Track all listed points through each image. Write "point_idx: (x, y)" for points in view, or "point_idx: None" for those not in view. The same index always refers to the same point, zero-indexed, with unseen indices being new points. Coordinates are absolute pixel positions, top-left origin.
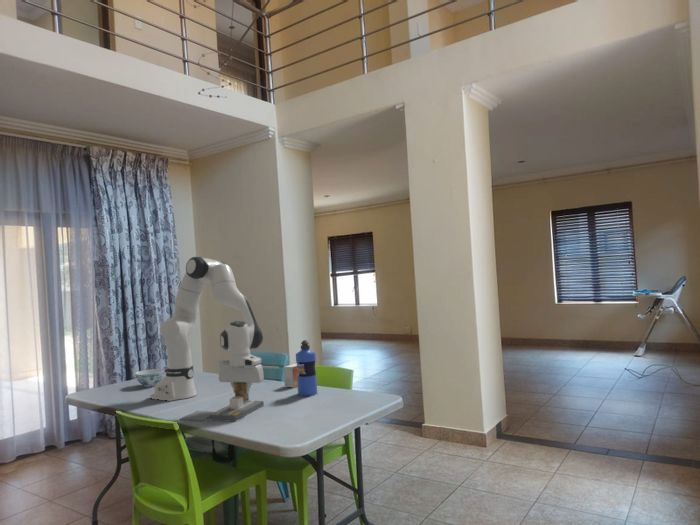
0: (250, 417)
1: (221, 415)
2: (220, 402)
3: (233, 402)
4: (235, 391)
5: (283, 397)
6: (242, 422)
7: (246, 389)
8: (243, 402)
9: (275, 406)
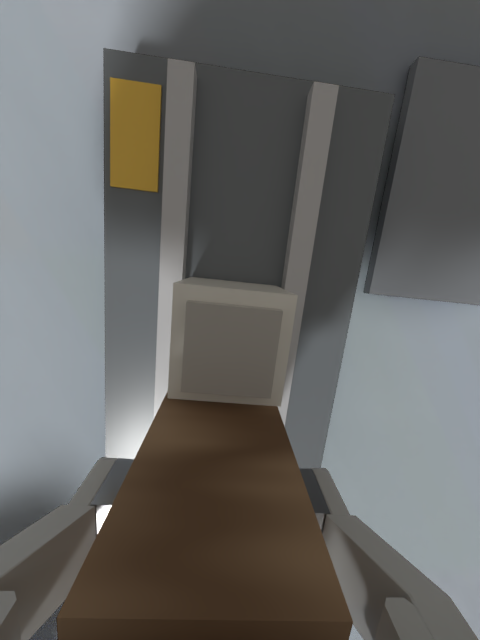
0: (56, 200)
1: (264, 74)
2: (451, 522)
3: (240, 285)
4: (282, 449)
5: None
6: (41, 46)
7: (93, 500)
8: None
9: (26, 472)
